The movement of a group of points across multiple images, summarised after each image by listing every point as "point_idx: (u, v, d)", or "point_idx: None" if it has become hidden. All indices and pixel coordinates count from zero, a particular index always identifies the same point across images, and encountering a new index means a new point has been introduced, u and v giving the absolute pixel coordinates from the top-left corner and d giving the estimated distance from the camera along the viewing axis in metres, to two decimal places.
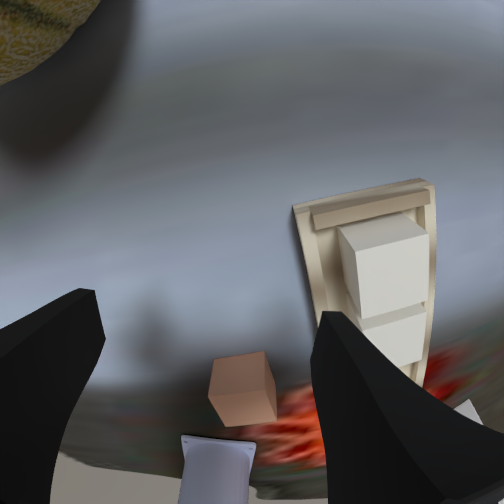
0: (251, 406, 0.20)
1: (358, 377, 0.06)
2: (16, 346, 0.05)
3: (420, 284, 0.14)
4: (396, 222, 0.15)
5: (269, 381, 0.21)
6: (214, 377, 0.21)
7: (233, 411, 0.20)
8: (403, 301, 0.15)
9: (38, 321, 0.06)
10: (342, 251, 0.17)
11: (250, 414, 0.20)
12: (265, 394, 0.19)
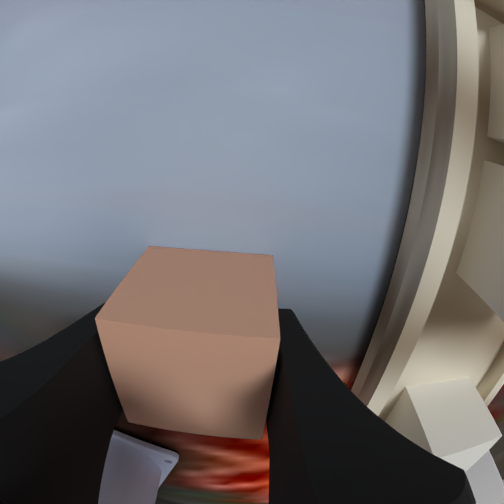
0: (214, 389, 0.07)
1: (286, 377, 0.06)
2: (67, 362, 0.05)
3: None
4: None
5: None
6: (133, 279, 0.08)
7: (157, 389, 0.07)
8: None
9: (85, 332, 0.06)
10: (503, 64, 0.05)
11: (200, 410, 0.07)
12: (273, 357, 0.06)
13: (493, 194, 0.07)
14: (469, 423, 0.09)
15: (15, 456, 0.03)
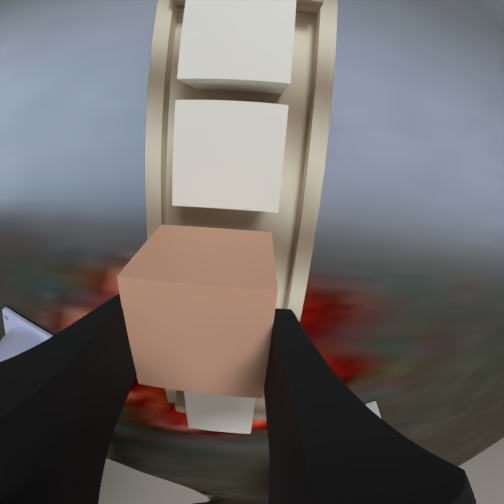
0: (219, 341, 0.08)
1: (286, 377, 0.06)
2: (67, 362, 0.05)
3: (278, 52, 0.09)
4: None
5: None
6: (149, 248, 0.09)
7: (168, 345, 0.08)
8: (246, 69, 0.09)
9: (85, 332, 0.06)
10: None
11: (207, 366, 0.08)
12: (272, 309, 0.07)
13: None
14: None
15: (15, 456, 0.03)
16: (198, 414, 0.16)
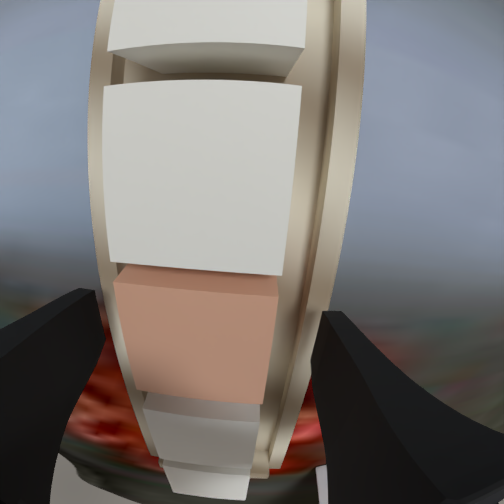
0: (219, 349, 0.08)
1: (358, 377, 0.06)
2: (16, 346, 0.05)
3: None
4: None
5: None
6: None
7: (166, 352, 0.08)
8: (224, 24, 0.05)
9: (38, 321, 0.06)
10: None
11: (205, 372, 0.08)
12: (272, 315, 0.07)
13: None
14: None
15: None
16: (182, 484, 0.12)
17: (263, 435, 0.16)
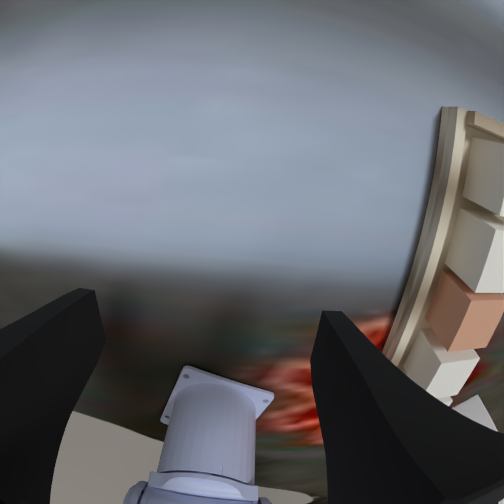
0: (487, 322, 0.15)
1: (358, 377, 0.06)
2: (16, 346, 0.05)
3: None
4: None
5: None
6: (460, 285, 0.16)
7: (472, 327, 0.15)
8: None
9: (38, 321, 0.06)
10: (475, 161, 0.14)
11: (478, 334, 0.16)
12: None
13: (462, 225, 0.16)
14: None
15: None
16: None
17: None
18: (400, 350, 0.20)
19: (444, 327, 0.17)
